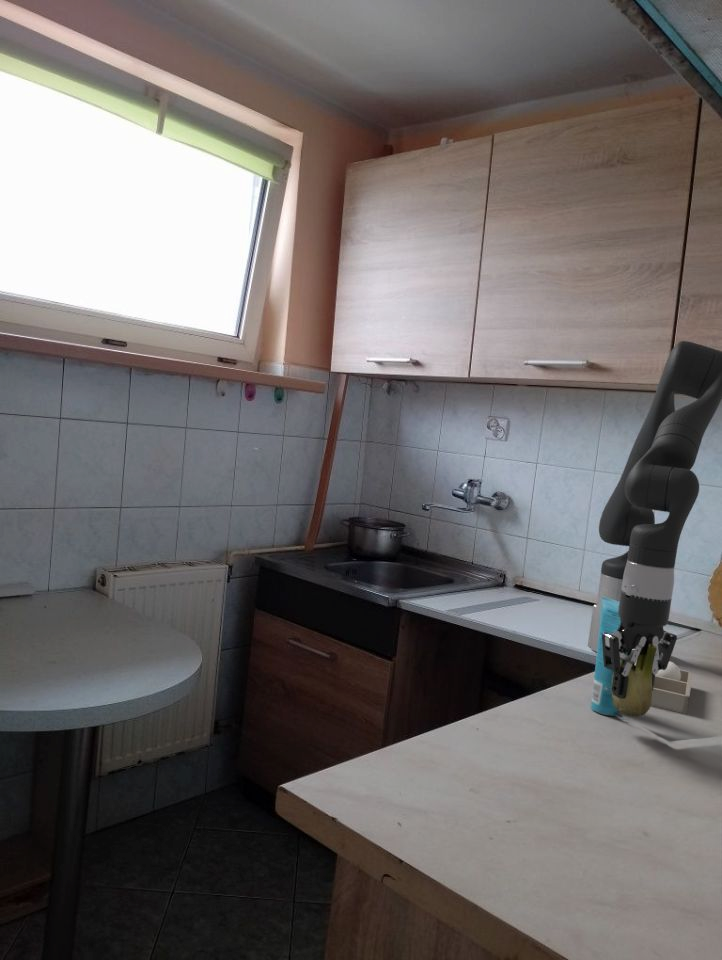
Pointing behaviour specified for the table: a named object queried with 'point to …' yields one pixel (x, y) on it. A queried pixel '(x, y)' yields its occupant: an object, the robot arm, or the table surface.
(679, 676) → the ceramic egg
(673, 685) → the tray
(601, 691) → the tube
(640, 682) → the fennel bulb
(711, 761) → the table surface
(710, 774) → the table surface
